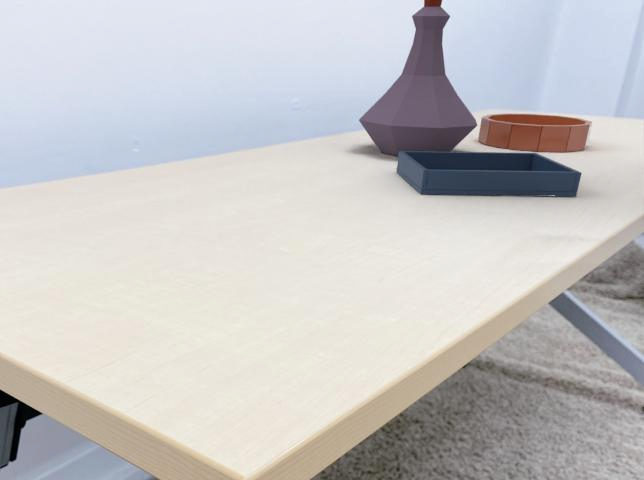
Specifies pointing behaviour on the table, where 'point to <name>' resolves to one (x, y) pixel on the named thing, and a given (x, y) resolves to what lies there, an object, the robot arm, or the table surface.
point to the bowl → (535, 132)
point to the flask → (421, 96)
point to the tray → (486, 173)
